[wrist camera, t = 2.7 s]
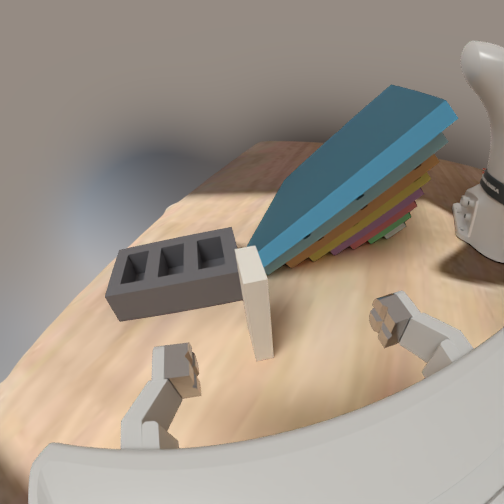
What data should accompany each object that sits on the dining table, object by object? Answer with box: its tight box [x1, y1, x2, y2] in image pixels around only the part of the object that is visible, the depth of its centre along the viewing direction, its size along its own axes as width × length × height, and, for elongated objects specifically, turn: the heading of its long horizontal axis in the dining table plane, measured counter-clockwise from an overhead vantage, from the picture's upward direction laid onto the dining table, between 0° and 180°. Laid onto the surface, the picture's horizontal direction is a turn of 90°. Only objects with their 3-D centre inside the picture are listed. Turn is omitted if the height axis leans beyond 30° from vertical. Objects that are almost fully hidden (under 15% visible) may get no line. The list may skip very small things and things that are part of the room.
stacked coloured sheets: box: [247, 85, 458, 275], centre depth 44 cm, size 35×18×35 cm
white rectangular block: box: [235, 246, 274, 361], centre depth 28 cm, size 5×2×12 cm, turn 11°
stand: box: [105, 227, 243, 321], centre depth 40 cm, size 11×19×5 cm, turn 101°
